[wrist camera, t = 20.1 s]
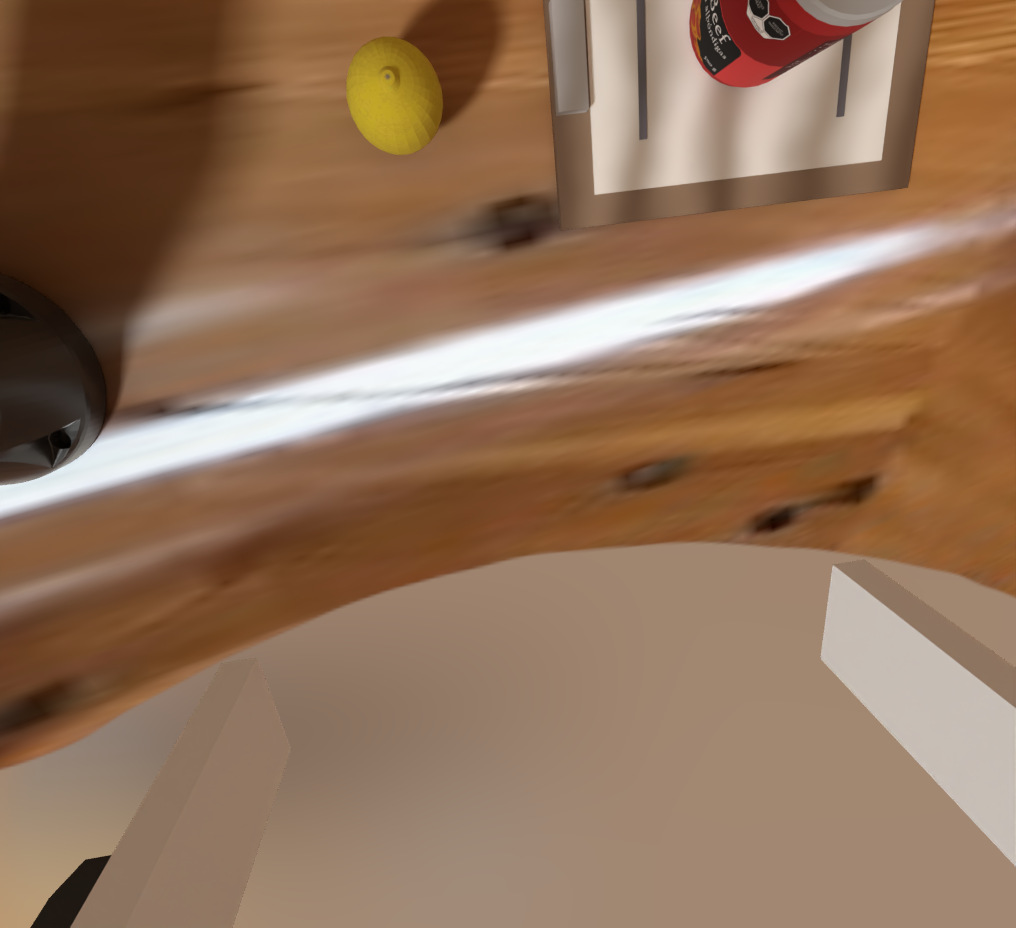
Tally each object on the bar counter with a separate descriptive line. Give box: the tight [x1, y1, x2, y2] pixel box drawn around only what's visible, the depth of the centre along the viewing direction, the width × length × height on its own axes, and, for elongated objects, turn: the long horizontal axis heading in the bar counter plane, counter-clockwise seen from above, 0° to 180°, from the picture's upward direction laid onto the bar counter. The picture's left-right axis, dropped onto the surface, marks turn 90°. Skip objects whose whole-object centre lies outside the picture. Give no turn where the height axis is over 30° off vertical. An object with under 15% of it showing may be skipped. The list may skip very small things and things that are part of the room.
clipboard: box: [543, 0, 935, 231], centre depth 34 cm, size 26×20×2 cm
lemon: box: [346, 37, 443, 155], centre depth 31 cm, size 6×6×8 cm
